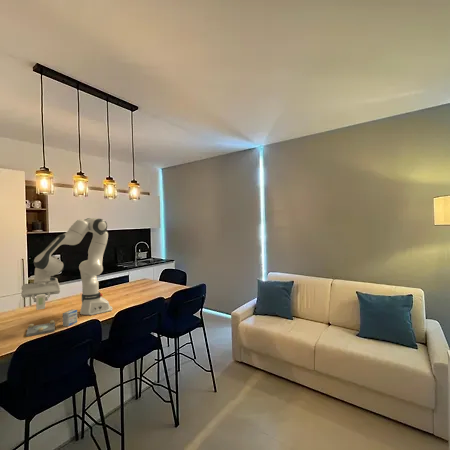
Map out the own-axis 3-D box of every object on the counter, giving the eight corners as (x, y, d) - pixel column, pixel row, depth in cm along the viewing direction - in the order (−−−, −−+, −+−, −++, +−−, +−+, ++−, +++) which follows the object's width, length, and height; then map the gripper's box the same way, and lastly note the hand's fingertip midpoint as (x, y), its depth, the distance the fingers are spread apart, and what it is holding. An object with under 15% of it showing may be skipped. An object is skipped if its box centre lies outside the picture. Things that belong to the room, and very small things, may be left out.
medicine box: (68, 326, 167) (68, 313, 167) (62, 326, 168) (62, 313, 168) (77, 322, 175) (77, 309, 175) (71, 321, 175) (71, 309, 176)
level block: (45, 306, 165) (45, 293, 165) (44, 308, 161) (44, 295, 161) (36, 308, 162) (36, 294, 163) (36, 310, 158) (36, 296, 159)
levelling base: (54, 324, 171) (54, 319, 171) (54, 331, 159) (54, 326, 159) (28, 328, 163) (28, 324, 163) (26, 336, 151) (26, 331, 151)
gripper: (21, 281, 162) (19, 300, 154) (60, 278, 173) (59, 295, 165) (22, 287, 166) (20, 306, 158) (60, 283, 177) (59, 301, 169)
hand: (40, 300), depth 161 cm, fingers closed on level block, 4 cm apart
